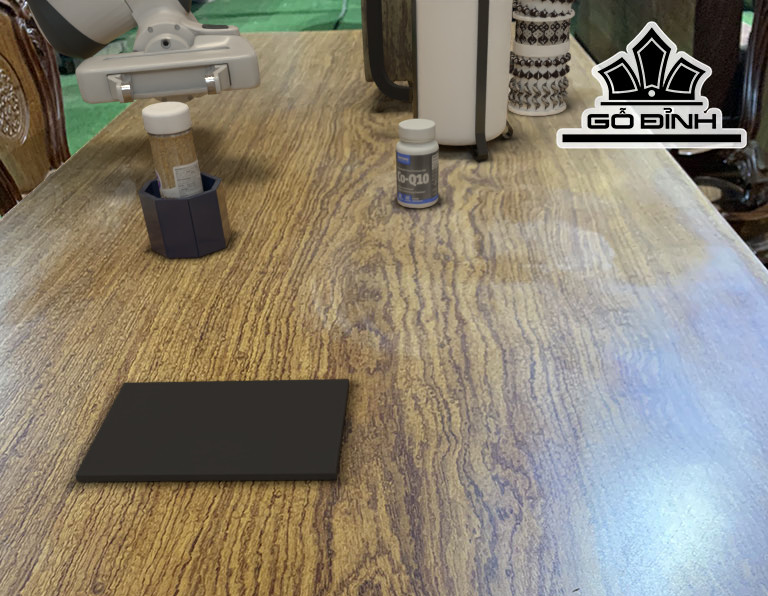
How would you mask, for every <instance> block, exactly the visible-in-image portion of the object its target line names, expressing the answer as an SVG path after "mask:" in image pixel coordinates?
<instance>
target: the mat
mask: <svg viewBox="0 0 768 596" xmlns="http://www.w3.org/2000/svg"><path fill="white" fill-rule="evenodd" d="M349 389H350V380H349V378H334V379H329V378H327V379H324V378H323V379H267V380H265V379H262V380H201V381H197V380H196V381H195V380H193V381H144V382H143V381H142V382H141V381H139V382H138V381H137V382H131V381H130V382H123V384H122V385H121V387H120V389H119V391H118V393H117V395H116V397H115V399H114V401H113V402H112V404H111V406H110V409H109V410H108V412H107V414H106V416H105V418H104V420H103V422H102V423H101V425H100V427H99V429H98V431H97V433H96V436H95V437H94V439H93V440H92V443H91V445H90V446H89V448H88V450H87V452H86V454H85V455H84V458H83V460H82V462H81V464H80V465H79V467H78V469H77V471H76V473H75V479H76V481H77V482H78V483H93V482H95V483H96V482H97V483H98V482H100V483H101V482H102V483H103V482H107V483H108V482H113V483H114V482H214V481H215V482H216V481H217V482H218V481H221V482H223V481H225V482H226V481H227V482H228V481H231V482H232V481H233V482H234V481H331V480H332V481H333V480H337V478H338V471H339V464H340V457H341V450H342V442H343V435H344V426H345V420H346V413H347V405H348V397H349Z"/></svg>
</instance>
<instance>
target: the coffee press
mask: <svg viewBox="0 0 768 596" xmlns="http://www.w3.org/2000/svg"><path fill="white" fill-rule="evenodd" d="M512 3H513V0H411V26H412V75H413V87H409V85H407V86H406V85H400V84H397V83H395V82H394V83H393V82H392V81H391V80H390V78H389V77H388V75H387V73H386V70H385V65H384V49H383V25H382V0H366V12H367V35H368V52H369V64H370V70H371V74H372V78H373V80H374V82H373V83H374V85H375V86H376V87H377V89H378V90H379V92H380V93H381V92H382V93H383V94H384V95H385V97H387V98H388V99H391V100H396V101H400V102H406V103H410V104H411V110H412V114H413V115H412V119H427V120H431V121H433V122H435V130H436V134H435V138H434V140H436V141H437V143H438V145H442V146H453V147H454V146H456V147H458V146H469V147H470V149H471V151H472V154H473V158H474V160H475V161H476V162H478V161H485V160H488V158H489V148H488V143H487V142H490V141H492V140H495V139H496V138H498V137H499V136H500V137H501V138H503V139H504V140H509V139H511V138H512V137H513V135H514V129H513V127H512V125H511V123H509V121H508V104H509V103H508V101H509V99H508V94H509V86H508V85H509V81H510V71H509V65H511V64H510V51H511V42H512V41H511V40H512V21H513V16H512V15H513V6H512ZM506 128H507V132H506V133H505V134H502V133H503V132H504V130H505V129H506Z"/></svg>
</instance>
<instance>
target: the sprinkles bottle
mask: <svg viewBox="0 0 768 596" xmlns="http://www.w3.org/2000/svg"><path fill="white" fill-rule="evenodd" d="M141 116H142V117H141V118H142V122H143V127H144V130H145V131H146V135H147V136H148V140H149V144H150V150H151V155H152V158H153V159H152V160H153V164H154V170H155V175H156V178H157V180H158V185H159V190H160V194H161V198H179V197H189V196H192V195H196V194H199V193H202V192H203V187H202V181H201V176H200V172H201V170H200V165H199V160H198V157H197V153H196V148H195V141H194V136H193V127H192V126H193V122H192V121H193V120H192V116H191V111H190V107H189V105H188V104H186V103H181V102H161V101H160V102H156V103H152V104H150V105H147V106H145V107H143V108H142V110H141Z"/></svg>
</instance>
